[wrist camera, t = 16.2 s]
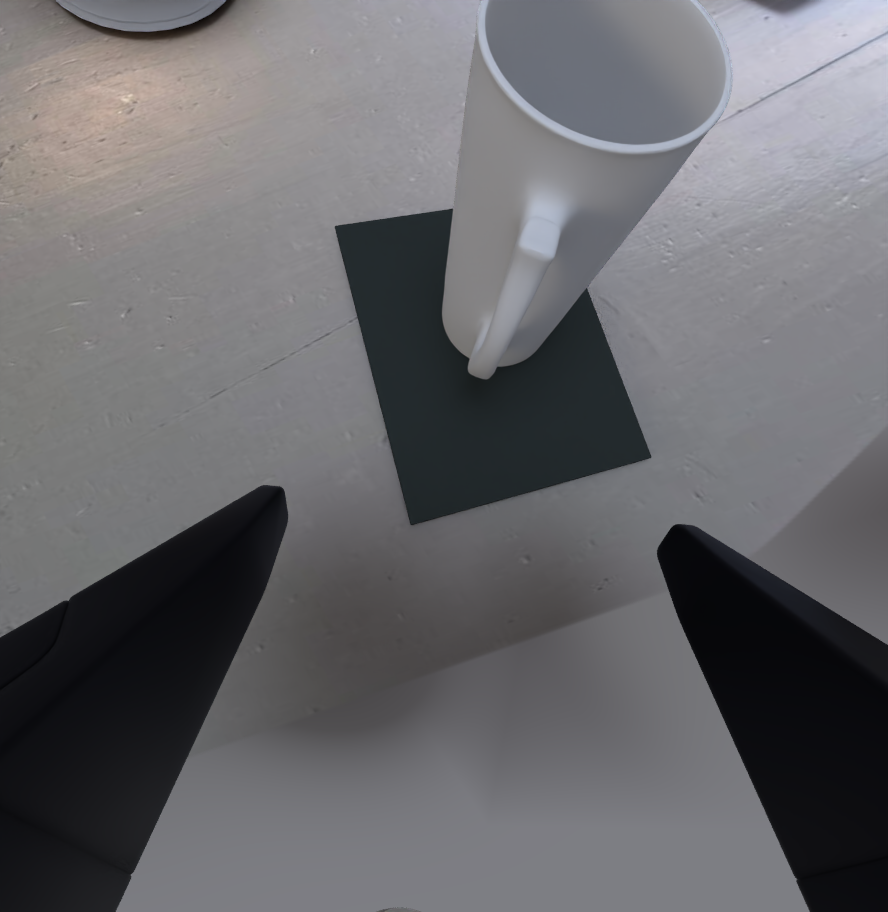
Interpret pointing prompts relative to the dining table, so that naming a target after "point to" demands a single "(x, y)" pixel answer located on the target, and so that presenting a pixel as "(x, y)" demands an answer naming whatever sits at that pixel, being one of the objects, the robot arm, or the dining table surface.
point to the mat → (478, 382)
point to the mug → (567, 154)
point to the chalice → (141, 12)
